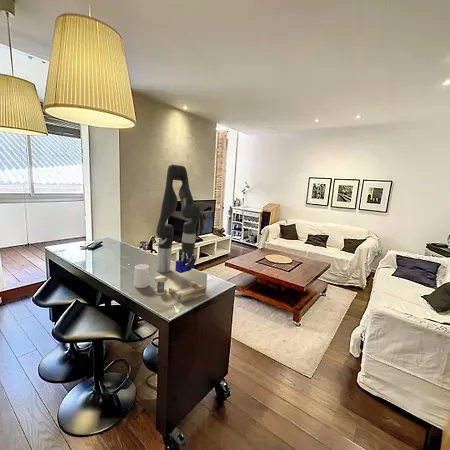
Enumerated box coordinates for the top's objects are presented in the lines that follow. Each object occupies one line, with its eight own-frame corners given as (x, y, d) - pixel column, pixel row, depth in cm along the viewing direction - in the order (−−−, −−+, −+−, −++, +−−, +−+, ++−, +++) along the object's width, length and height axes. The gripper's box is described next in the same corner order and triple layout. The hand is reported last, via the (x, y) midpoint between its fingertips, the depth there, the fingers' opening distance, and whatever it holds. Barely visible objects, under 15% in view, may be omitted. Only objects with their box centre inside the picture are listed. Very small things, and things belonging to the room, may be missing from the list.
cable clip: (180, 273, 139) (181, 263, 138) (175, 270, 142) (175, 260, 141) (196, 268, 148) (196, 259, 147) (190, 266, 151) (191, 256, 150)
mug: (154, 287, 151) (155, 268, 148) (141, 291, 144) (142, 271, 142) (143, 280, 158) (143, 262, 155) (130, 284, 151) (131, 265, 149)
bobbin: (151, 291, 145) (152, 277, 143) (162, 288, 150) (163, 275, 149) (158, 296, 140) (159, 281, 139) (169, 292, 146) (169, 279, 144)
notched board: (168, 294, 143) (168, 288, 143) (192, 286, 157) (193, 280, 156) (181, 303, 136) (181, 296, 135) (205, 294, 149) (206, 287, 148)
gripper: (175, 238, 144) (173, 266, 147) (191, 244, 134) (189, 274, 138) (185, 236, 149) (183, 264, 153) (202, 242, 140) (199, 271, 143)
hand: (186, 268), depth 145 cm, fingers closed on cable clip, 4 cm apart
